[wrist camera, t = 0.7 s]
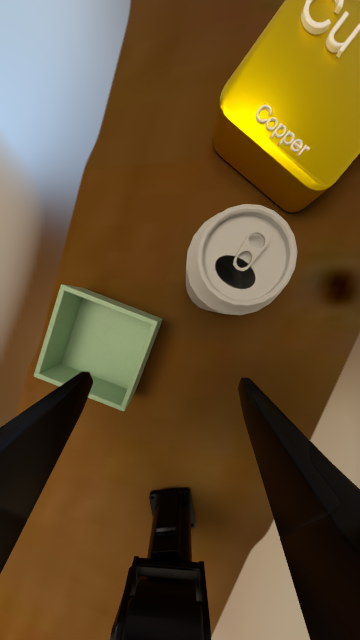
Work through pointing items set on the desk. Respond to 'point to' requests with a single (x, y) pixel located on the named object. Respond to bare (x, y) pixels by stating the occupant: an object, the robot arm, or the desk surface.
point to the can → (240, 260)
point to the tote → (97, 344)
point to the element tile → (295, 103)
